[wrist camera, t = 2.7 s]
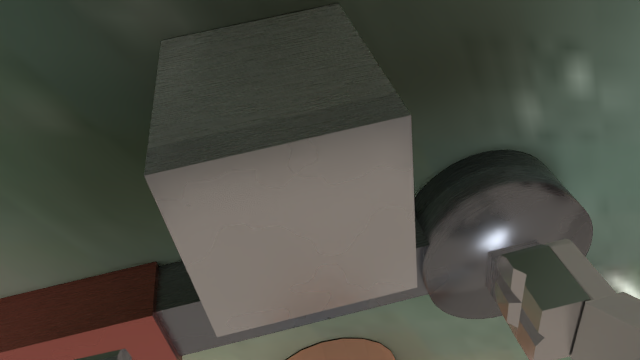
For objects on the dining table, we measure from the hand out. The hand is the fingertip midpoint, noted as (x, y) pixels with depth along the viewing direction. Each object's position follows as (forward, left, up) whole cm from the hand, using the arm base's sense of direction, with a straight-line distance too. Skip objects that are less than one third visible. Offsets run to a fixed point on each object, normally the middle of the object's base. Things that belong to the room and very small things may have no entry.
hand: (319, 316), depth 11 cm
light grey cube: (-1, 0, -9) cm, 9 cm away
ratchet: (+7, -2, -9) cm, 12 cm away
